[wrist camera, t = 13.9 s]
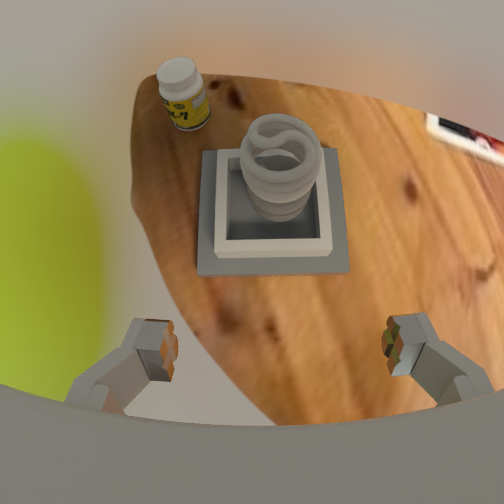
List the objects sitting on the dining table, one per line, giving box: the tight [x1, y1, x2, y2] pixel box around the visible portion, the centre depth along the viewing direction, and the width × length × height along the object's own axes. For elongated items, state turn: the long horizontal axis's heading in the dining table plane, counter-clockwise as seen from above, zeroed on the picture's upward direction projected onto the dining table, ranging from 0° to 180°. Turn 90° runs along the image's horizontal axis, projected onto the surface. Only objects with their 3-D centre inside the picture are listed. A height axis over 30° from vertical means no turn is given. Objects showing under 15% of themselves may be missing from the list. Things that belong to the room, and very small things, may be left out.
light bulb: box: [240, 113, 322, 222], centre depth 25 cm, size 6×6×12 cm
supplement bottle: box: [157, 57, 211, 131], centre depth 31 cm, size 5×5×8 cm
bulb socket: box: [197, 147, 350, 277], centre depth 30 cm, size 14×13×4 cm
